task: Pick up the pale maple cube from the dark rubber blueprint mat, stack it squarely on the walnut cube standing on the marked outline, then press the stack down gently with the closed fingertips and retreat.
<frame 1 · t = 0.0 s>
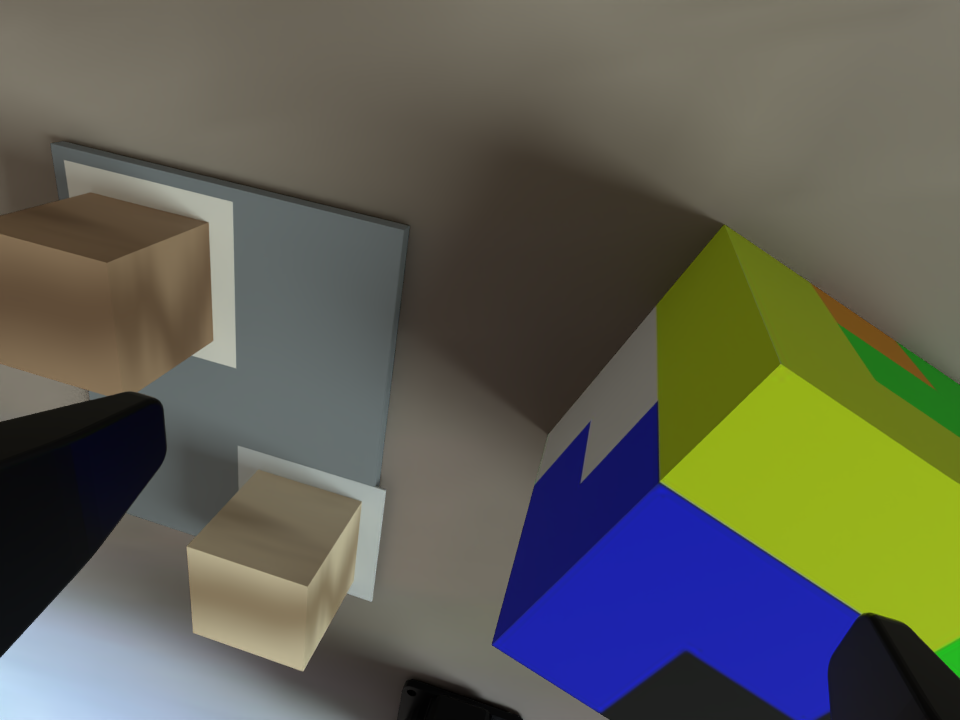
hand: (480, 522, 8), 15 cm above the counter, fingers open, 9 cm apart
puzzle toy: (741, 414, 23), on the counter
maple cube: (307, 526, 29), point 1 cm above the counter, touching blueprint mat
walnut cube: (154, 269, 25), point 1 cm above the counter, touching blueprint mat
blueprint mat: (234, 388, 27), on the counter
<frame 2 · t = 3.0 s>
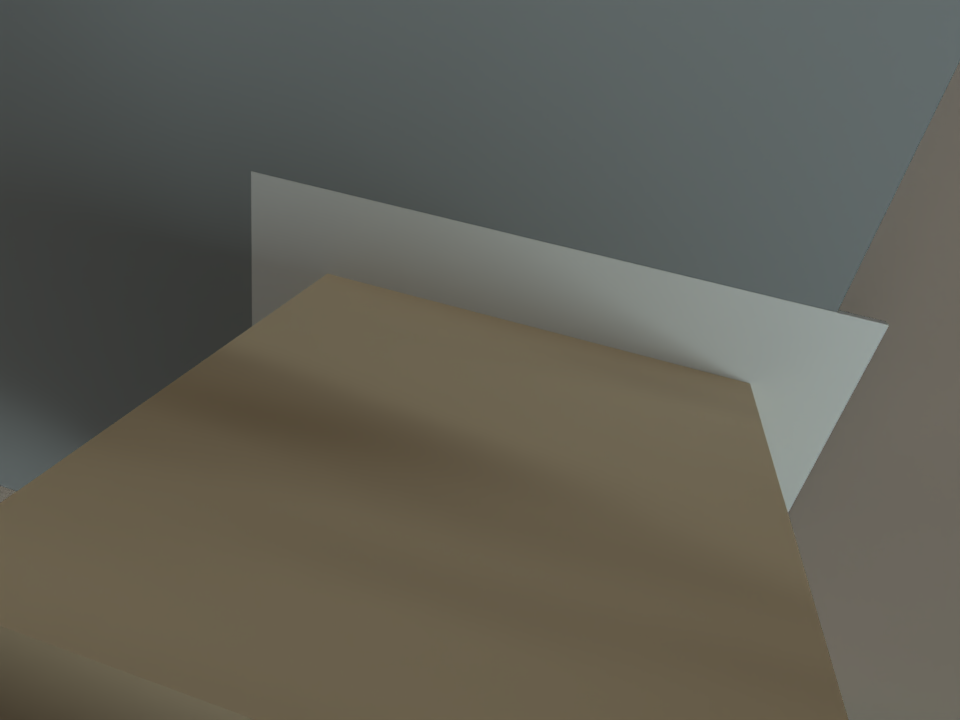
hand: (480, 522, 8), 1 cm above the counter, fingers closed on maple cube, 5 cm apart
maple cube: (490, 492, 8), point 1 cm above the counter, touching blueprint mat, gripper
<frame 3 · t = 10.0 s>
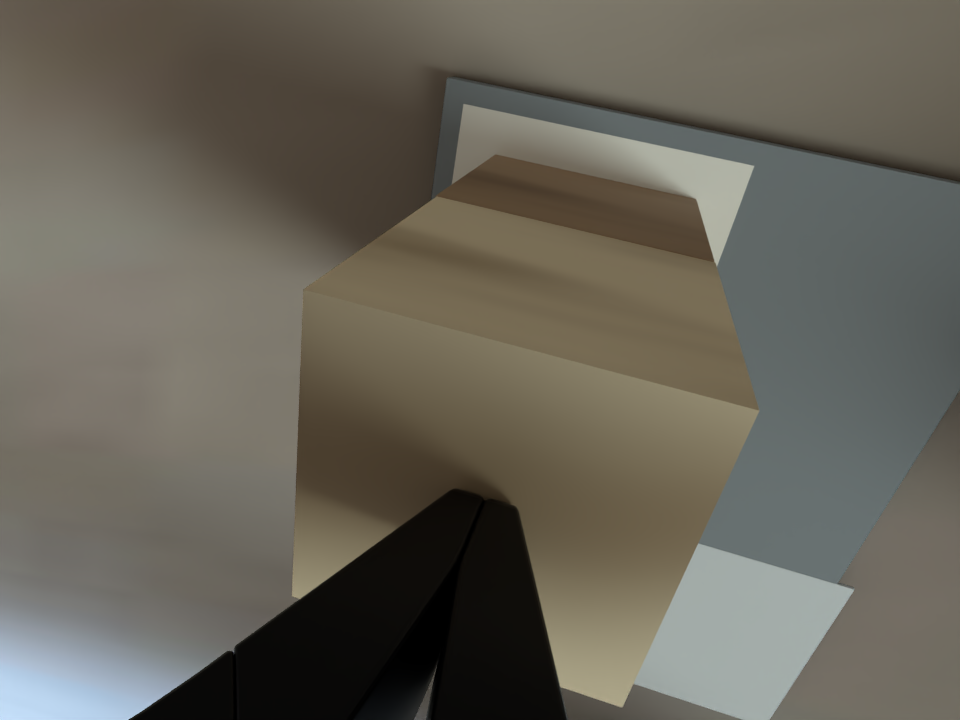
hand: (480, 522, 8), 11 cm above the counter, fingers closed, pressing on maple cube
maple cube: (541, 352, 12), point 6 cm above the counter, touching gripper, walnut cube
walnut cube: (569, 271, 17), point 1 cm above the counter, touching blueprint mat, maple cube
blueprint mat: (629, 442, 19), on the counter
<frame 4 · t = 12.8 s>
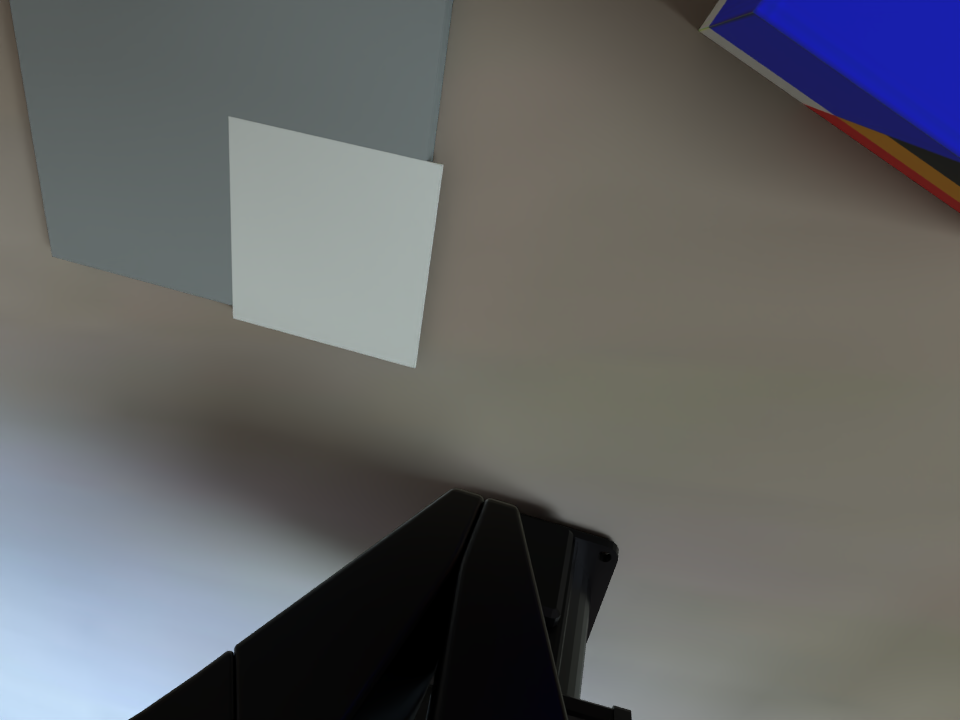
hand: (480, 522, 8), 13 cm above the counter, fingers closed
blueprint mat: (223, 23, 19), on the counter
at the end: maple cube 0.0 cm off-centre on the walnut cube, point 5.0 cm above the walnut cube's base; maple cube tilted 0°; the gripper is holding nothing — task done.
